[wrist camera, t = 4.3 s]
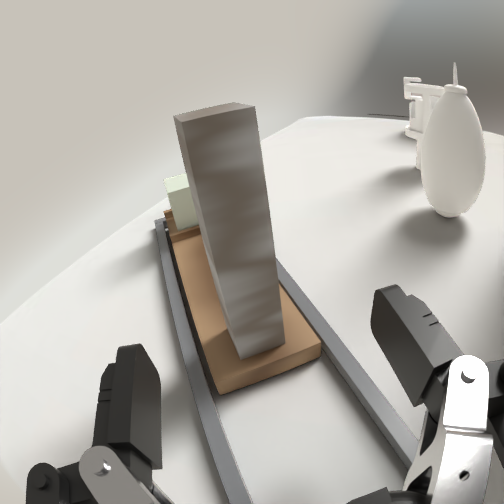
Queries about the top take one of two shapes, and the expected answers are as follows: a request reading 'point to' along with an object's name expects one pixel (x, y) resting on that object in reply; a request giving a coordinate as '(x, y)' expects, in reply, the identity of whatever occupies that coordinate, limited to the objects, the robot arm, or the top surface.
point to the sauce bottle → (453, 153)
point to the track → (330, 343)
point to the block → (181, 201)
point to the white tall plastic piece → (420, 110)
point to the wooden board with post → (234, 253)
